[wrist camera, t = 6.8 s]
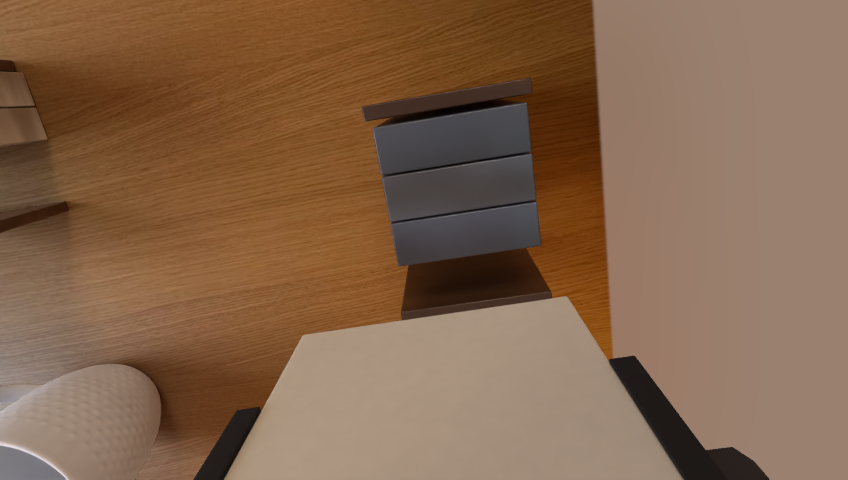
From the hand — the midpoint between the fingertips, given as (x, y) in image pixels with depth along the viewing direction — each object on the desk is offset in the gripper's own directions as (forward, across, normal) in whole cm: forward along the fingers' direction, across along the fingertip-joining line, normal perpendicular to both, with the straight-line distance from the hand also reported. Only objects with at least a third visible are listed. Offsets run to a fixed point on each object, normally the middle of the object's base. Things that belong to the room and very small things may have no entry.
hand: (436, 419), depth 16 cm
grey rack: (+26, +2, +3) cm, 26 cm away
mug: (+26, -32, -11) cm, 43 cm away
